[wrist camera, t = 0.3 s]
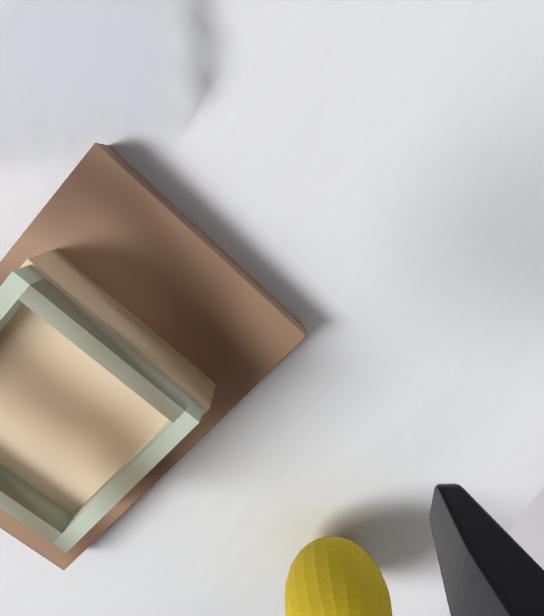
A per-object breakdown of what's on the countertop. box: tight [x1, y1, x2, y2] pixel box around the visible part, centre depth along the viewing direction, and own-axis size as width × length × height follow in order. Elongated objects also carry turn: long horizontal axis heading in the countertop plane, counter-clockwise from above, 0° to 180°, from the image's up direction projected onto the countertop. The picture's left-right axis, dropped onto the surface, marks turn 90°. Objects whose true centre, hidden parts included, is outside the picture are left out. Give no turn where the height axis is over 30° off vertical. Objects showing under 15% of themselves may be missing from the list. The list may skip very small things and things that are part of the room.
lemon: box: [285, 536, 392, 616], centre depth 24 cm, size 6×6×8 cm
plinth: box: [0, 143, 306, 570], centre depth 22 cm, size 20×13×5 cm, turn 136°
